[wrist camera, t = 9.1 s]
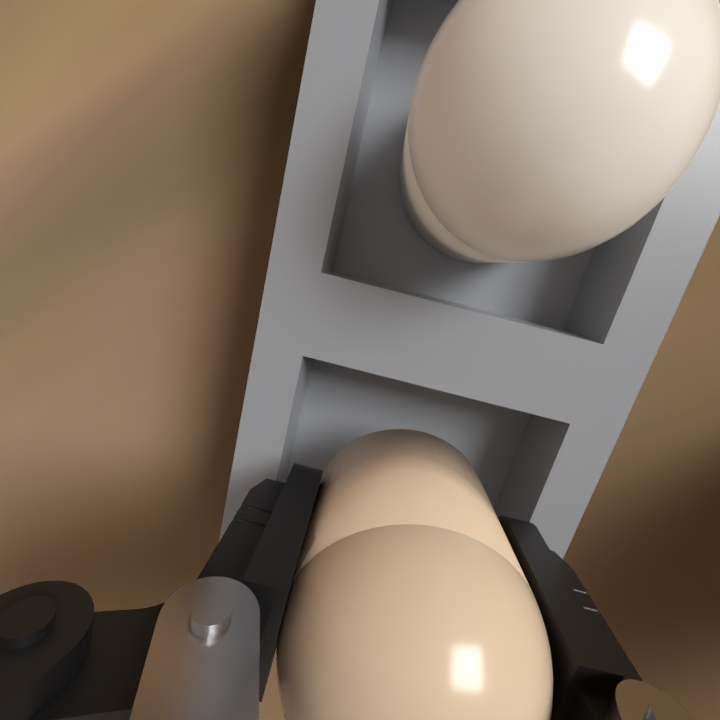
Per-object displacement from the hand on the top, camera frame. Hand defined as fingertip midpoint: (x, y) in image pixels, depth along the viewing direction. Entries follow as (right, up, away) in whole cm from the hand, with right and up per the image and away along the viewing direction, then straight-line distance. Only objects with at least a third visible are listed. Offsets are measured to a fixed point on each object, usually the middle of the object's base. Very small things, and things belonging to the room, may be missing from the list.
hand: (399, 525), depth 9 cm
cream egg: (+2, +9, +1) cm, 9 cm away
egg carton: (+1, +5, +3) cm, 6 cm away
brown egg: (0, 0, +1) cm, 1 cm away
